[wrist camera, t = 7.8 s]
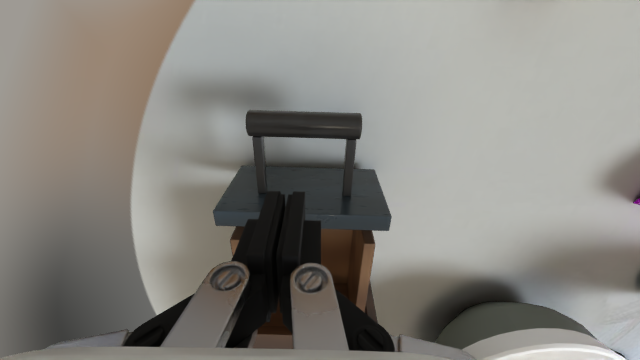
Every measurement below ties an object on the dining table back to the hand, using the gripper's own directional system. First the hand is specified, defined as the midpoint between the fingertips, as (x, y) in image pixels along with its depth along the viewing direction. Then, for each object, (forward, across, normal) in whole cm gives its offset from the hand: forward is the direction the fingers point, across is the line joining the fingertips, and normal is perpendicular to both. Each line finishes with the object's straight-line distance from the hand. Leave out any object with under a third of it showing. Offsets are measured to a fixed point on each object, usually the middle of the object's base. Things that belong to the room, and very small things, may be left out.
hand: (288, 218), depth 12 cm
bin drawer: (+11, 0, +7) cm, 13 cm away
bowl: (+11, -23, +24) cm, 35 cm away
